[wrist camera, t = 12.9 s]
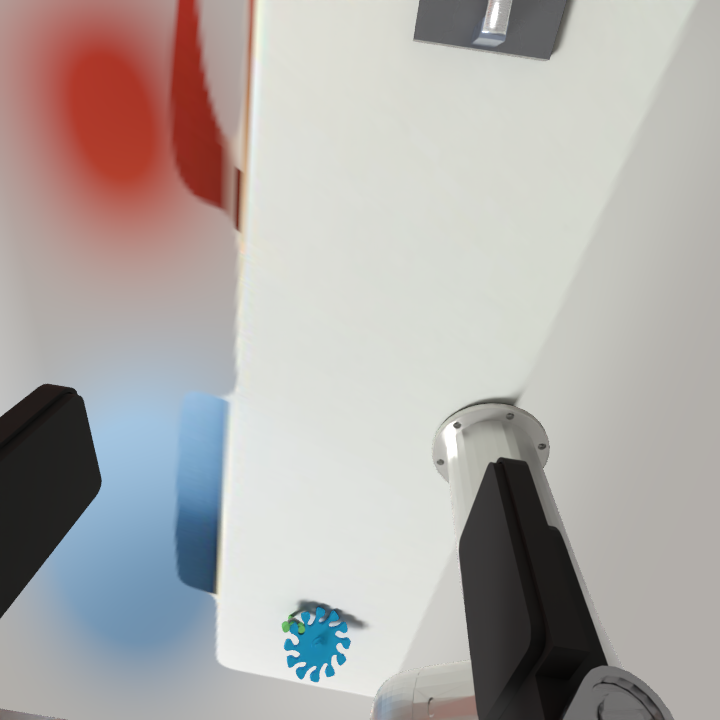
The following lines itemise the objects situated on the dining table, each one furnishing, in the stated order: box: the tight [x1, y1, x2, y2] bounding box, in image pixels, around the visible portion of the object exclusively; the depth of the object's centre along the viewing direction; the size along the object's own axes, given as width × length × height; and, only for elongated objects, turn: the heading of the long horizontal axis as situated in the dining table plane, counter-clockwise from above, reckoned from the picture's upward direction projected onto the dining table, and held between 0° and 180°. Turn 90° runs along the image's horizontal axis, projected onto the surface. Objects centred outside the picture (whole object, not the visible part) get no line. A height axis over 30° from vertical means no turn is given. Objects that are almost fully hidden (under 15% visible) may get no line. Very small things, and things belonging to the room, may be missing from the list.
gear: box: [282, 607, 351, 682], centre depth 69 cm, size 11×6×10 cm
